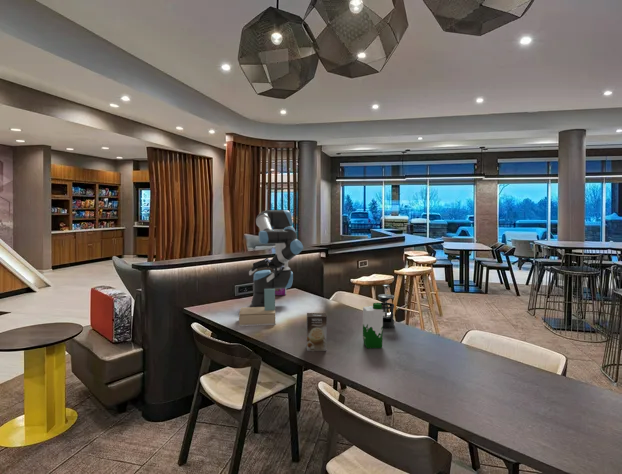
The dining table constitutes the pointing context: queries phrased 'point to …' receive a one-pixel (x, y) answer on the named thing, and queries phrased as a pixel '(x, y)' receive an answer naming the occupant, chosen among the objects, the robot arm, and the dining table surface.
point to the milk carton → (373, 326)
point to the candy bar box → (280, 291)
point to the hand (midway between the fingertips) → (258, 277)
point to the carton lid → (268, 309)
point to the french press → (388, 319)
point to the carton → (256, 319)
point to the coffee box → (316, 331)
